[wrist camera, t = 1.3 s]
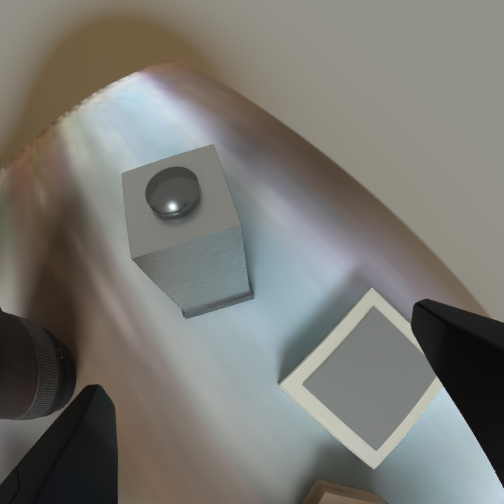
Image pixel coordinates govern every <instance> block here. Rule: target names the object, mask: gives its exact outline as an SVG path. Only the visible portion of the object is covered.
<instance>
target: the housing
mask: <svg viewBox="0 0 504 504" xmlns="http://www.w3.org/2000/svg"><path fill="white" fill-rule="evenodd" d="M122 184H123V195H124V205H125V215H126V223H127V231H128V239H129V246H130V253H131V259H132V260H133V261H134V262H135V263H136V264H137V265H138V266H139V267H140V268H141V269H142V270H143V272H144V273H145V274H146V275H147V276H148V277H149V278H150V279H151V280H152V281H153V282H154V283H155V284H156V285H157V286H158V287H159V288H160V289H161V290H162V291H163V292H164V293H165V294H166V295H167V296H168V297H169V298H170V299H171V300H172V301H173V302H174V303H176V304H177V305H178V306H179V307H180V308H181V310H182V314H183V316H184V317H185V318H186V319H188V318H191V317H194V316H198V315H201V314H205V313H208V312H211V311H215V310H218V309H221V308H225V307H228V306H231V305H235V304H238V303H241V302H244V301H248V300H251V299H254V296H253V292H252V289H251V286H250V283H249V280H248V274H247V266H246V258H245V250H244V241H243V233H242V225H241V222H240V219H239V216H238V213H237V210H236V208H235V205H234V202H233V199H232V196H231V193H230V190H229V187H228V185H227V182H226V179H225V176H224V173H223V170H222V167H221V164H220V162H219V159H218V156H217V153H216V150H215V147H214V144H213V145H209V146H206V147H202V148H199V149H195V150H192V151H188V152H185V153H182V154H178V155H175V156H172V157H169V158H166V159H162V160H159V161H156V162H153V163H150V164H147V165H144V166H141V167H138V168H136V169H133V170H130V171H127V172H124V173H122Z"/></svg>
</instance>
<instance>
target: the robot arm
mask: <svg viewBox="0 0 504 504" xmlns="http://www.w3.org/2000/svg"><path fill="white" fill-rule="evenodd" d="M411 330H412V333H413V335H414V336H415V338H416V340H417V342H418V344H419V345H420V347H421V349H422V351H423V353H424V355H425V356H426V358H427V360H428V362H429V364H430V366H431V368H432V369H433V371H434V373H435V374H436V376H437V377H438V379H439V380H440V382H441V383H442V385H443V386H444V388H445V389H446V391H447V392H448V394H449V395H450V397H451V398H452V400H453V402H454V403H455V405H456V406H457V408H458V409H459V411H460V413H461V414H462V416H463V417H464V419H465V421H466V422H467V424H468V425H469V427H470V429H471V430H472V432H473V434H474V435H475V437H476V439H477V440H478V442H479V444H480V446H481V447H482V449H483V451H484V452H485V454H486V456H487V458H488V460H489V461H490V463H491V465H492V467H493V469H494V470H495V473H496V474H497V476H498V478H499V480H500V482H501V484H502V486H503V488H504V323H503V322H500V321H497V320H494V319H490V318H487V317H484V316H481V315H478V314H475V313H471V312H468V311H465V310H462V309H459V308H455V307H452V306H449V305H446V304H443V303H439V302H436V301H433V300H430V299H423V300H421V301H418V302H416V303H415V304H414V306H413V313H412V320H411ZM0 504H118V447H117V433H116V412H115V406H114V403H113V402H112V400H111V399H110V397H109V396H108V395H107V393H106V392H105V390H104V389H103V388H102V386H100V385H99V384H94V385H87V386H86V387H85V388H84V389H83V390H82V391H81V392H80V393H79V394H78V395H77V396H76V398H75V399H74V400H73V401H72V402H71V403H70V404H69V405H68V407H67V408H66V409H65V410H64V411H63V412H62V413H61V415H60V416H59V417H58V418H57V419H56V420H55V421H54V423H53V424H52V425H51V426H50V427H49V428H48V429H47V431H46V432H45V433H44V434H43V435H42V436H41V438H40V439H39V440H38V441H37V442H36V443H35V445H34V446H33V447H32V448H31V449H30V450H29V452H28V453H27V454H26V455H25V456H24V458H23V459H22V460H21V461H20V462H19V464H18V466H16V467H15V468H14V469H13V471H12V472H11V473H10V474H9V475H8V477H7V478H6V479H5V480H4V481H3V482H2V484H1V485H0Z"/></svg>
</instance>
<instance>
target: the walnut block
mask: <svg viewBox="0 0 504 504" xmlns="http://www.w3.org/2000/svg"><path fill="white" fill-rule="evenodd" d="M302 504H388V503H386V502H385V501H384V500H383V499H382V498H381V497H379V496H378V495H377V494H376V493H375V492H371V491H366V490H362V489H357V488H353V487H349V486H345V485H341V484H337V483H334V482H330V481H326V480H323V479H320V478H316V480H315V481H314V483H313V485H312V487H311V488H310V490H309V492H308V494H307V495H306V497H305V499H304V500H303V502H302Z"/></svg>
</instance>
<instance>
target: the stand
mask: <svg viewBox="0 0 504 504" xmlns="http://www.w3.org/2000/svg"><path fill="white" fill-rule="evenodd" d="M278 386H279V387H280V388H281V389H282V390H283V391H284V392H285V393H287V394H288V395H289V396H290V397H291V398H292V399H293V400H294V401H295V402H296V403H297V404H298V405H299V406H300V407H301V408H302V409H304V410H305V411H306V412H307V413H308V414H309V415H310V416H311V417H312V418H313V419H314V420H316V421H317V422H318V423H319V424H320V425H321V426H322V427H323V428H324V429H326V430H327V431H328V432H329V433H330V434H331V435H332V436H333V437H335V438H336V439H337V440H338V441H339V442H340V443H342V444H343V445H344V446H345V447H346V448H347V449H349V450H350V451H351V452H352V453H353V454H354V455H356V456H357V457H358V458H359V459H360V460H362V461H363V462H364V463H366V464H367V465H368V466H370V467H371V468H373V469H375V468H376V467H377V466H378V465H379V464H380V463H381V462H382V461H383V460H384V459H385V458H386V457H387V456H388V455H389V453H390V452H391V451H392V450H393V449H394V448H395V447H396V446H397V444H398V443H399V442H400V441H401V440H402V439H403V437H404V436H405V435H406V434H407V433H408V431H409V430H410V429H411V428H412V427H413V425H414V424H415V423H416V421H417V420H418V419H419V418H420V416H421V415H422V414H423V412H424V411H425V410H426V408H427V407H428V406H429V404H430V403H431V402H432V400H433V399H434V397H435V396H436V395H437V393H438V392H439V390H440V389H441V387H442V386H443V385H442V383H441V382H440V380H439V379H438V377H437V376H436V374H435V373H434V371H433V369H432V368H431V366H430V364H429V362H428V360H427V358H426V356H425V355H424V353H423V351H422V349H421V347H420V345H419V344H418V342H417V340H416V338H415V336H414V335H413V333H412V330H411V325H410V324H409V323H408V322H407V321H406V320H405V319H404V318H403V317H402V316H401V315H400V314H399V313H398V312H397V311H396V310H395V309H394V308H393V307H392V306H391V305H390V304H389V303H388V302H387V301H386V300H385V299H384V298H382V297H381V296H380V295H379V294H378V293H377V292H376V291H375V290H374V289H373V288H370V289H369V290H368V291H367V292H366V293H365V294H364V295H363V296H362V297H361V298H360V299H359V300H358V301H357V302H356V304H355V305H354V306H353V307H352V308H351V309H350V310H349V312H348V313H347V314H346V315H345V316H344V317H343V318H342V319H341V320H340V322H339V323H338V324H337V325H336V326H335V327H334V328H333V329H332V330H331V331H330V332H329V333H328V335H327V336H326V337H325V338H324V339H323V340H322V341H321V342H320V343H319V344H318V345H317V346H316V347H315V348H314V349H313V350H312V351H311V352H310V353H309V354H308V355H307V356H306V357H305V358H304V359H303V360H302V361H301V362H300V363H299V364H298V365H297V366H296V367H295V368H294V369H293V370H292V371H291V372H290V373H289V374H288V375H287V376H286V377H285V378H284V379H283V380H282V381H281V382H280V383H279V384H278Z"/></svg>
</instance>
